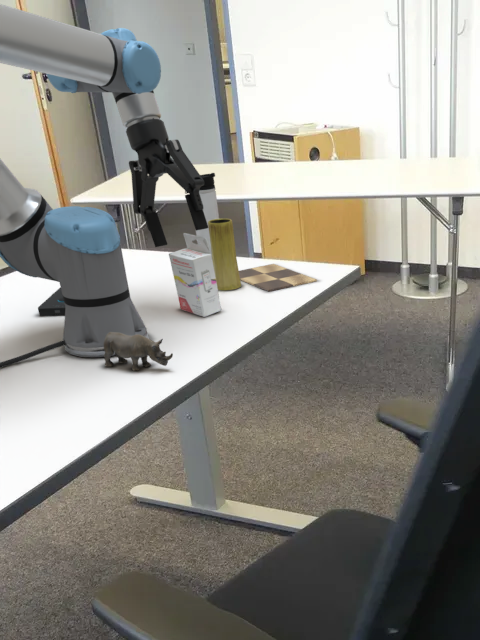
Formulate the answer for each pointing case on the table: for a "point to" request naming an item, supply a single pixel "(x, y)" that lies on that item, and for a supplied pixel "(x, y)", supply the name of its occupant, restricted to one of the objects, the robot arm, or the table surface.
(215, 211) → the travel mug
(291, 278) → the board
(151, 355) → the rhino figurine
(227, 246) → the vase
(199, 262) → the ink cartridge box
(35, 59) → the robot arm
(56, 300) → the smart home device
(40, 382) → the table surface
